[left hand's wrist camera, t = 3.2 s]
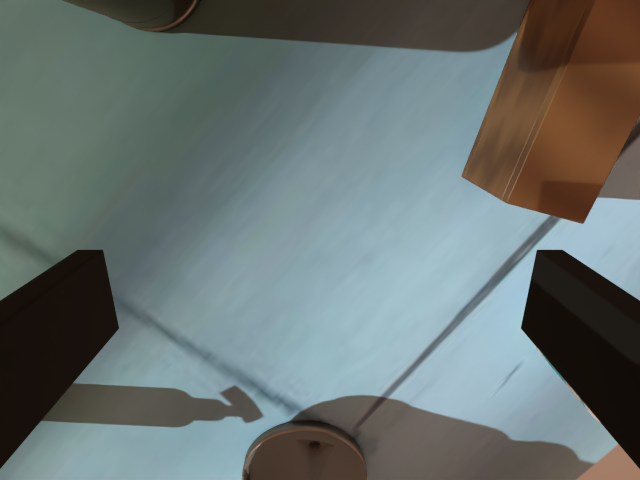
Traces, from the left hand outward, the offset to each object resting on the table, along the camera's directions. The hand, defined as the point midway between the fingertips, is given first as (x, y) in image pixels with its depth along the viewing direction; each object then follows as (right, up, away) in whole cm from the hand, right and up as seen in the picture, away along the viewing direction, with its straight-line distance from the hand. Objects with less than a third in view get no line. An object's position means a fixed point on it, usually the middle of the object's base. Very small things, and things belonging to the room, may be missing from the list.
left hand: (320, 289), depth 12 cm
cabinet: (+19, +15, +23) cm, 33 cm away
